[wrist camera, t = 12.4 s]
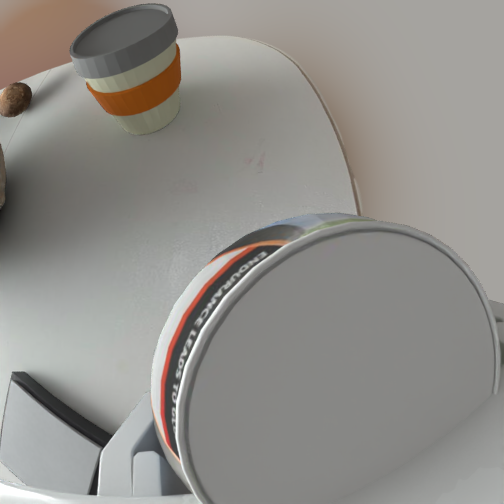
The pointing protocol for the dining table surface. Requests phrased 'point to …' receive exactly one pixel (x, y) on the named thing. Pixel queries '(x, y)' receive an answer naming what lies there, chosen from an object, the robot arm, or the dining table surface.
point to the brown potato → (15, 99)
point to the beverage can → (319, 360)
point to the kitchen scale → (49, 440)
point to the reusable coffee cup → (132, 66)
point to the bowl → (2, 178)
